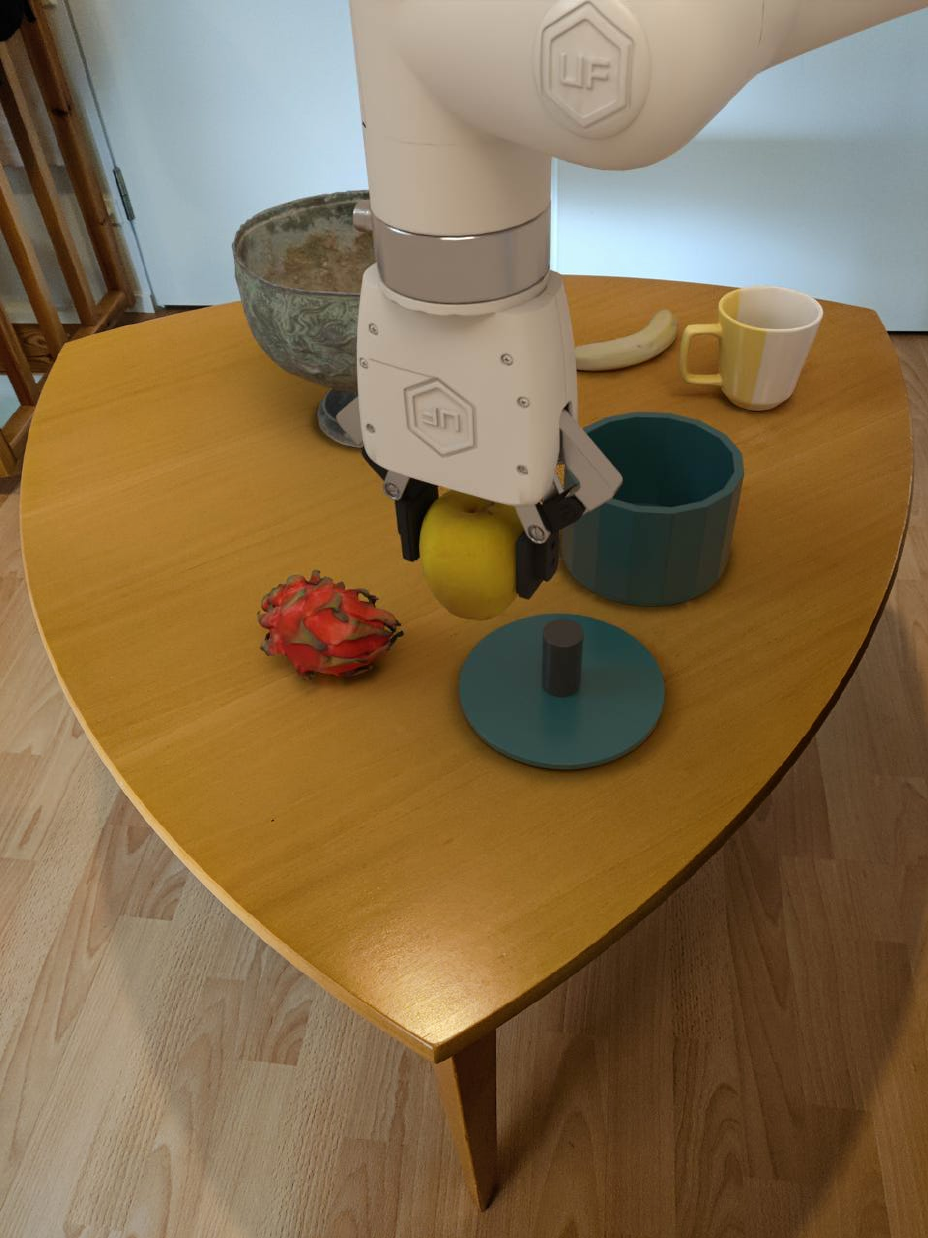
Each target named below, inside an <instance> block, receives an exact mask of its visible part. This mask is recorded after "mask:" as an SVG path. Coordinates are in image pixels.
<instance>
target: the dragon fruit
mask: <svg viewBox="0 0 928 1238" xmlns="http://www.w3.org/2000/svg"><path fill="white" fill-rule="evenodd" d="M320 574H321V571H320V570H318V569H313V570H312V571H311V575H310V578H309V580H307V579H306V577H305V576H304V575H302V574H293V575H290V576H288V577H287V579H286V583H279V584H278V585H277V586H276V587H272V588H271V590H270V592H268V593H267V594H264V595H263V596H262V599H261V600H260V607H261V610H262V611H263V612H265V613H260V611H261V610H258V611H257V612H256V616H257V621H258V624H259V625H260V627H261V628H263V629H265V630H268V632H267V633H266V634H265V638H264V640H263V642H262V643H261V644H260V647H259V649H260V650H261V651H262V652H264V654H265V655H266V656H267V657H271V656H276V655H279V654H283V655H284V656H285V657H286V658H287V659H288V661H289V662H290V663H291V665H292V666H293V667H294V670H295V671H296V673H297V674H298V675H299V676H300V677H301V678H302V679H303V680H304V681H306V682H311V681H313V679H314V678H315V677H316V674H315V672H318V673H321V674H327V675H334V676H336V677H344V676H346V677H347V678H351V677H354V676H359V675H361V674H364V673H366V672H370V671H372V669H374V668H375V667H376V666H375V665H370V664H371V663H373V661H374V660H375V659H376V658H378V657H379V656H380V655H381V654H383V653H385V652H387V651H388V652H389V651H390V649H391V648H392V646H393V645H394V644H395V643H396V642H397V641H398V638H401V637H403V636H404V635H405V632H404V630H402V629H401V630H400V631H397V628H398V627H401V626H402V623H401V622H399V620H398V619H397V618H396V617H395V616H394V613H391V612H390V611H388V610H385V609H383V608H378V607H377V606H376V603H377V601H379V600H380V598H379V597H378V596H376V595H375V594H371V593H370V591H369V590H368V589H367V588H364V587H363V588H362V587H357V588H347V589H346V584H345V583H344V581H338V582H335V583H334V579H333V578H331V577H330V576H323V577H321V575H320ZM359 594H361V595H362V596H363V597H365V598H367V599H368V601H366V600H360V598H359ZM385 627H386V628H387V629H388V630H387V629H386V628H385Z"/></svg>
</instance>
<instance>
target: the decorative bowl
mask: <svg viewBox="0 0 928 1238" xmlns="http://www.w3.org/2000/svg"><path fill="white" fill-rule="evenodd" d="M360 200H365V201H370V194H369V189H359V190H358V189H357V190H353V189H351V190H346V191H335V192H332V193H321V194H316V195H312V196H307V197H302V198H296V199H294V200H291V201H288V202H284V203H281V204H278V205H275V206H272V207H268V208H266V209H263V210H262V211H259V212H258V213H256V214H254V215H252V217H251V218H249V219H246V220H245V222H244V223H243V224H240V225H239V227H238V230H236V232H235V234H234V239H233V242H232V243H231V249H232V257H233V263H234V279H235V282H236V285H237V289H238V293H239V299H240V301H241V306H242V309H243V313H244V316H245V319H246V322H247V325H248V327H249V329H250V331H251V333H252V336H253V338H254V339H255V341H256V343H257V344H258V345H259V347H260V349H261V350H262V351H263V352H264V353H265V354H266V355H267V356H268V358H269V359H270V360H271V361H272V362H273V363H274V364H276V365H277V366H278V367H280V368H281V369H282V370H284V371H285V372H286V373H288V374H290V375H293V376H296V377H298V378H301V379H302V380H305V381H307V382H309V383H312V384H315V385H318V386H321V387H325V388H328V389H330V390H329V391H328V392H326V393H325V395H324V396H323V397H322V399H321V400H320V402H319V405H318V410H317V419H318V426H319V428H320V430H321V431H322V432H323V434H324V435H326V436H327V437H329V438H330V439H332V440H333V441H334V442H336V443H339V444H342V446H347V447H352V448H353V447H354V448H360V449H362V448H361V447H360V446H357V445H356V444H355V443H354V442H353V441H352V439H351V438H350V437H349V436H348V435H347V433H346V432H345V431H344V430H343V429H342V428H341V426H340V425H339V424H338V422H337V419H336V416H337V414H338V413H339V412H340V411H341V410H342V409H344V408H345V407H346V406H347V405H348V404H349V403H350V402H352V401H353V400H354V399H355V398H356V397H357V396H358V382H357V328H358V315H359V304H360V295H361V287H362V279H363V274H364V272H365V271H366V270H367V269H368V268H369V267H370V266H372V265H373V264H375V263H376V262H377V260H376V259H375V252H374V242H373V237H371V236H370V235H369V234H368V233H365V232H359V231H357V230H356V229H355V227H354V225H353V211H354V207H355V206H356V204H357V202H359V201H360Z"/></svg>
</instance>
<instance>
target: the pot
mask: <svg viewBox="0 0 928 1238" xmlns="http://www.w3.org/2000/svg"><path fill="white" fill-rule="evenodd" d="M581 428H582V429H583V430H584V431H585V433H586V434H587V435H588V436H589V437H590V439H591V440H592V441H593V442H594V443H595V445H596V446H597V447H598V448H599V449H600V450H601V452H602V453H603V454H604V455H605V456H606V458H607V459H608V460H609V461H610V462H611V463H612V465H613V466H614V467H615V468H616V469H617V471H618V472H619V473H620V474H621V476H622V478H623V482H622V485H621V486H620V488H619V489H618V490H617V492H616V493H615V495H614V496H613V497H612V498H611V499H610V500H609V501H607V502H605V503H604V504H602V505H600V506H599V507H597V508H595V509H594V510H592V511H590V512H587V513H586V514H584V515H582V516H581V517H580V519H579V520H577V521H576V522H574V523H572V524H570V525H569V526H567V527H565V528H563V529H561V546H560V547H561V550H560V553H561V556H562V560H563V562H564V565H565V568H566V569H567V571H568V572H569V573H570V575H571V576H572V577H573V578H574V580H575V581H577V582H578V583H579V584H580V585H581V586H582V587H584V588H585V589H586V590H588V591H590V592H592V593H593V594H595V595H597V596H600V597H602V598H605V599H607V600H609V601H613V602H616V603H618V604H619V603H620V604H624V605H630V606H637V607H665V606H671V605H676V604H677V605H678V604H681V603H685V602H688V601H690V600H693V599H695V598H698V597H699V596H701V595H703V594H705V593H706V592H708V591H709V590H711V589H712V588H713V587H714V586H715V584H717V583H718V581H719V580H720V579H721V577H722V576H723V573H724V571H725V569H726V566H727V564H728V563H729V557H730V552H731V547H732V542H733V541H732V540H733V536H734V531H735V526H736V519H737V515H738V510H739V505H740V500H741V493H742V488H743V484H744V478H745V467H744V457H743V453H742V451H741V450H740V449H739V448H738V447H737V445H736V444H735V443H734V442H733V441H732V439H731V438H730V437H729V436H728V435H727V434H726V433H724V432H722V431H721V430H719V429H717V428H715V427H714V426H712V425H709V424H708V423H706V422H704V421H702V420H700V419H696V418H692V417H688V416H684V415H680V414H676V413H672V412H659V411H658V412H657V411H632V412H626V413H621V414H616V415H609V416H606V417H603V418H601V419H599V420H597V421H594V422H593V423H590V424H589V425H587V426H584V427H581ZM563 466H564V468H563V470H564V471H563V489H564V491H565V490H567V489H569V488H570V487H572V486H574V485H575V484H578V483H579V481H578V480H577V478H576V477H575V476H574V475H573V474H572V472H571V471H570V470H569V469H568V468H567V467H566V465H565V464H563Z"/></svg>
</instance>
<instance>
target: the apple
mask: <svg viewBox="0 0 928 1238" xmlns="http://www.w3.org/2000/svg"><path fill="white" fill-rule="evenodd" d="M523 531H524V528H523V526H522V524H521V521H520V519H519V517H518V514H517V512H516V510H515V508H514V506H510V505H505V504H501V503H497V502H493V501H490V500H486V499H483V498H479V497H476V496H472V495H469V494H465V493H462V492H458V491H455V490H452V489H448V490H447V491H446V492H445V493H443V494H441V495H440V496H439V498H438V499H437V500H436V501H435V502H434V503H433V504H432V505H431V507H430V508H429V510H428V511H427V513H426V515H425V517H424V520H423V523H422V527H421V532H420V542H419V551H420V558H419V560H420V564H421V568H422V572H423V574H424V578H425V581H426V584H427V585H428V587H429V589H430V591H431V593H432V595H433V597H434V598H435V599H436V600H437V601H438V603H439V604H440V605H441V606H442V607H443V608H444V609H445V610H446V611H447V612H448V613H449V614H451V615H452V616H455V617H457V618H460V619H464V620H473V621H479V622H482V621H486V620H491V619H494V618H495V617H497V616H499V615H501V614H504V612H506V610H507V609H508V608H509V607H510V606H511V605H512V604H513V602H515V601H516V599H517V597H519V595H518V594H517V593H516V541H517V538H518V537H519V536H520V534H521V533H522V532H523Z"/></svg>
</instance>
